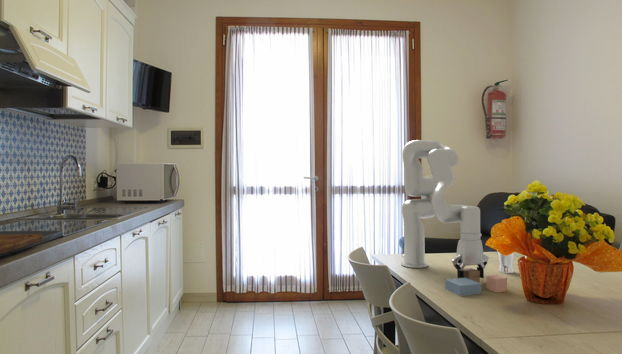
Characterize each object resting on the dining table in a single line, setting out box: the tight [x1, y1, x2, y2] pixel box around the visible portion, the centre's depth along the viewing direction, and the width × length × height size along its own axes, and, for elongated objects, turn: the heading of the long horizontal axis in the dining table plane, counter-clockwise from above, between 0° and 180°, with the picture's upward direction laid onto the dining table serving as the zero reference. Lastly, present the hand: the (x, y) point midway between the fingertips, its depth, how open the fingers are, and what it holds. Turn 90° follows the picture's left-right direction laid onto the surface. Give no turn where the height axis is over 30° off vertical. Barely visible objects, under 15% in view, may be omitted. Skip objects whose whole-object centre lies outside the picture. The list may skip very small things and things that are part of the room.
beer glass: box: [497, 251, 515, 274], centre depth 179 cm, size 7×7×15 cm
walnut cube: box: [463, 267, 481, 284], centre depth 163 cm, size 5×5×5 cm
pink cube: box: [486, 274, 508, 293], centre depth 152 cm, size 5×5×5 cm
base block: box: [444, 278, 482, 297], centre depth 151 cm, size 9×9×4 cm
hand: (470, 278), depth 163 cm, fingers open, 9 cm apart
